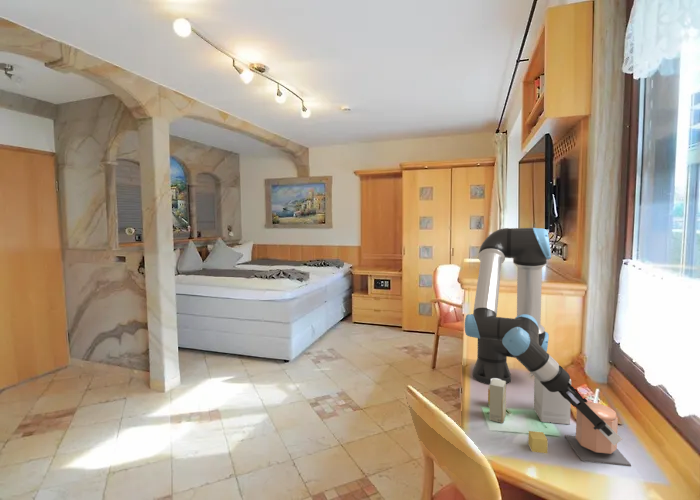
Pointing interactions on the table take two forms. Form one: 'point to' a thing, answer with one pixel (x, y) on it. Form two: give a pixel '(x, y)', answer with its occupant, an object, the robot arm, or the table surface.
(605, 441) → the peach round canister
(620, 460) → the rubber mat
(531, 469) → the table surface
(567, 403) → the supplement box
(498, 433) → the table surface
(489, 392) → the supplement bottle
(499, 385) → the skincare box
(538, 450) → the mustard block
